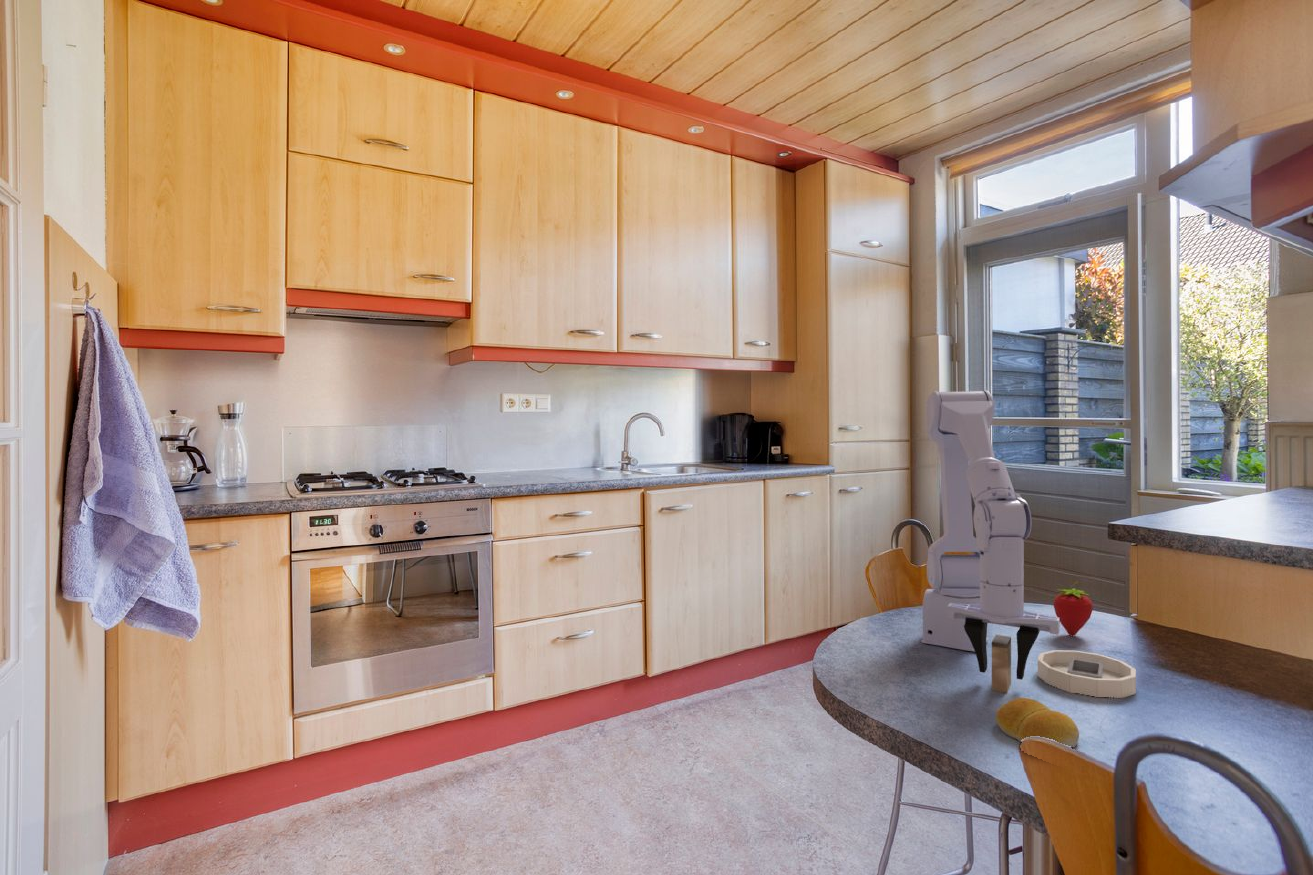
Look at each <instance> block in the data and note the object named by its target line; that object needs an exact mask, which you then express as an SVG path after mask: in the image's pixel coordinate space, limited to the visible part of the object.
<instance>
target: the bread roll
mask: <svg viewBox="0 0 1313 875" xmlns="http://www.w3.org/2000/svg"><path fill="white" fill-rule="evenodd" d="M995 714H996V717H995V718H996V722H997V725H998V727H999V728H1000V729H1001V731H1002V732H1003V733H1004V734H1006V735H1008V736H1009V737H1011V738H1012V739H1016V740H1018V741H1019V742H1020V741H1021V740H1022V739H1024V738H1026V737H1030V736H1040V737H1045V738H1049V739H1053V740H1055V741H1057V742H1059V743H1062V744H1065V745H1068V746H1071V747H1073V748H1075V747H1076V746H1077V744H1078V743H1079V738H1080V732H1079V728H1078V726H1077V723H1076V722H1075V721H1074V720H1073V719H1072V718H1071V717H1070V716H1069V715H1067V714H1065V713H1062V712H1059V711H1056V710H1052V709H1050V708H1049V707H1048V706H1046V705H1045V704H1043V703H1042V702H1040V701H1038V700H1035V699H1032V698H1027V697H1018V698H1013V699H1011V700H1009V701H1007V702H1006V703H1003V705H1001V706H1000V707H999V708H998V709H996V713H995Z"/></svg>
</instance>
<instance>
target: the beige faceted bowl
mask: <svg viewBox="0 0 1313 875" xmlns="http://www.w3.org/2000/svg"><path fill="white" fill-rule="evenodd" d="M1038 676H1039V677H1038ZM1037 677H1038V678H1040V679H1041V680H1042V681H1043V680H1044V681H1043V682H1044V683H1046V684H1047V683H1048V684H1049V685H1048V684H1047V685H1048V686H1051V685H1052V687H1054V686H1055V687H1054V688H1056V687H1057V689H1059V690H1062V691H1065V692H1068V693H1071V694H1075V693H1080V694H1079V695H1081V694H1086V695H1090V696H1089V697H1091V696H1096V697H1109V698H1108V699H1124V698H1127V697H1130V696H1133V695H1136V693H1137V670H1136V668H1135V667H1133V666H1131V665H1130V664H1128V663H1126V662H1124V660H1120V659H1116V658H1113V657H1110V656H1106V655H1103V654H1100V653H1096V652H1095V653H1094V652H1093V653H1092V652H1087V651H1082V650H1081V651H1080V650H1072V649H1071V650H1070V649H1069V650H1066V649H1065V650H1063V649H1052V650H1049V651H1045V652H1040V653H1039V655H1038V658H1037ZM1086 695H1085V696H1086ZM1096 697H1095V698H1096ZM1110 697H1111V698H1110ZM1113 697H1114V698H1113Z"/></svg>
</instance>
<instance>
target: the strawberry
mask: <svg viewBox="0 0 1313 875" xmlns="http://www.w3.org/2000/svg"><path fill="white" fill-rule="evenodd" d="M1077 583H1078V581H1076V582H1075V583H1073V585H1071V586H1070V589H1066V588H1062V589H1061V588H1058V589H1056V590H1057V591H1059V593H1057V596H1056V597H1055V598H1054V601H1053V609H1054V612H1055V616H1056V617H1058V618H1060V624H1061V625H1062V627H1063V628H1064V630H1065V631H1066V633H1067V634H1068V635H1069V636H1071V635H1072V636H1071V637H1073V635H1074V636H1076V635H1077V634H1078V632H1079V631H1080V630H1081V629H1082V628H1083V627H1084V626H1085V625H1086V624H1087V622H1088V621H1089V620H1090V618H1091V616H1092V613H1093V609H1094V607H1093V601H1092V600H1091V599H1090V598H1089V597H1090V596H1091V595H1090V594H1088V593H1086V591H1085V590H1079V589H1076V588H1075V587H1074V588H1072V587H1073V586H1074V585H1076V584H1077ZM1088 596H1089V597H1088Z"/></svg>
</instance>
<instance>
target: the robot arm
mask: <svg viewBox="0 0 1313 875" xmlns="http://www.w3.org/2000/svg"><path fill="white" fill-rule="evenodd" d="M994 415H995V401H994V397H993V395H992V394H991V393H990V391H989V390H986V389H984V390H973V391H937V390H932V391H931V392H930V394H929V395H928V397H927V400H926V406H925V416H926V417H925V418H926V433H927V435H928V436H927V437H928V439H929V440H931V441H933V442H935V443H937V448H938V449H937V450H938V454H939V471H940V473H939V474H940V488H941V489H940V490H941V506H942V525H943V526H942V527H943V535H942V536H940V537H939V538H938V539H936V540H935V541H934V542H932V543H931V544H930V546H929V547H928V549H927V561H926V575H927V576H926V577H927V581H928V584H929V586H930V587H931V588H927V589H925V592H924V595H923V600H922V639H921V643H922V644H929V645H934V646H939V647H943V648H944V647H945V648H951V649H957V650H962V651H968V652H974V653H975V657H976V660H977V664H978V671H979V672H980V673H982V674H983V673H984V674H985V673H986V671H987V670H988V652H987V643H988V642H989V637H988V636H987V635H988V624H992V625H993V624H994V625H999V626H1000V625H1001V626H1007V627H1013V628H1018V630H1017V632H1016V646H1017V660H1016V661H1017V663H1016V664H1017V665H1016V673H1015V674H1016V680H1021V681H1022V680H1023V679H1024V677H1025V669H1026V665H1027V660H1028V657H1029V655H1030V652H1031V650H1032V648H1033V646H1034V644H1035V642H1036V640H1037V638H1038V637H1039V636H1038V635H1039V634H1040V631H1042V632H1047V633H1049V634H1052V635H1059V633H1060V631H1061V630H1060V627H1061V626H1060V624H1061V622H1060V618H1058V617H1057V616H1050V615H1045V614H1041V613H1037V612H1034V611H1033V612H1032V611H1027V610H1025V608H1024V607H1025V604H1024V602H1025V600H1024V598H1025V594H1024V593H1025V592H1024V591H1025V590H1024V589H1025V588H1024V586H1025V582H1024V581H1025V579H1024V578H1025V575H1024V574H1025V569H1024V566H1025V559H1024V557H1025V555H1024V554H1025V552H1024V551H1025V544H1024V543H1025V540H1027V539H1028V538H1029V536H1030V534H1031V531H1032V527H1033V526H1032V522H1033V521H1032V520H1033V519H1032V513H1031V510H1030V506H1029V504H1028V502H1027V501H1026V500H1025V499H1023V498H1022V496H1021V494H1019V493H1016V492H1015V489H1014V487H1013V483H1012V480H1011V477H1010V475H1009V472H1008V469H1007V466H1006V464H1005V463H1004V462H1003V461H1002V460H999V459H997V458H995V453H994V448H993V444H992V439H991V436H990V431H989V430H990V429H991V425H992V422H993V421H994V420H993V419H994ZM972 499H973V503H974V508H972V507H973V506H972ZM973 509H974V510H973ZM974 532H975V535H974ZM948 552H954V553H955V552H956V553H957V552H958V553H961V552H962V553H963V552H964V553H965V552H966V553H972V554H945V553H948Z"/></svg>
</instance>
